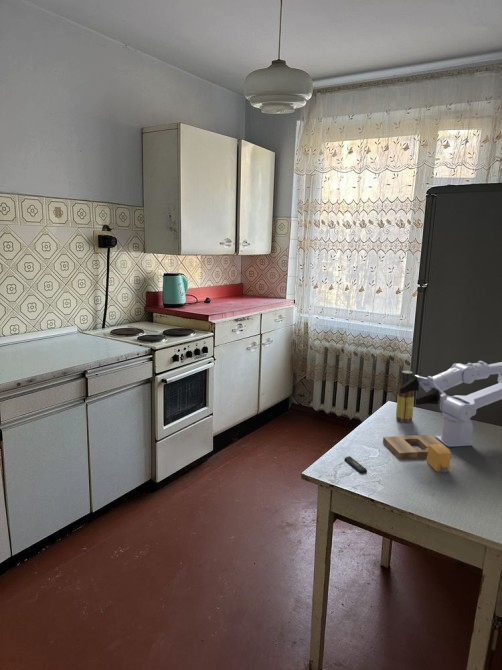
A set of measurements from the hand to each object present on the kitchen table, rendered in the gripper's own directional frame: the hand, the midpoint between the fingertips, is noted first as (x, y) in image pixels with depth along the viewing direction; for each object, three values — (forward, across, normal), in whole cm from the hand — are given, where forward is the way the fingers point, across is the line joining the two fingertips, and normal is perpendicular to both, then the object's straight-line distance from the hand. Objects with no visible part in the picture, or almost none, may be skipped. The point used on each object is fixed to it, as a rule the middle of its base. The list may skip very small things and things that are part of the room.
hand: (408, 396), depth 152 cm
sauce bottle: (-11, -17, +26) cm, 33 cm away
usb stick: (+26, +8, +12) cm, 30 cm away
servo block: (+2, +16, +17) cm, 23 cm away
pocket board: (+1, +4, +19) cm, 20 cm away
